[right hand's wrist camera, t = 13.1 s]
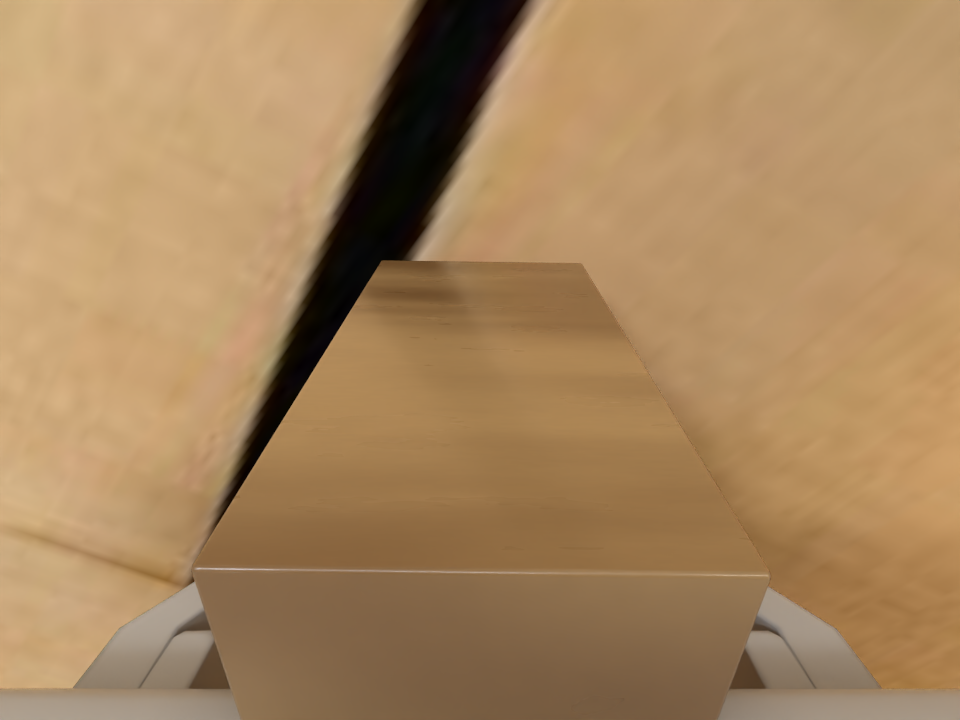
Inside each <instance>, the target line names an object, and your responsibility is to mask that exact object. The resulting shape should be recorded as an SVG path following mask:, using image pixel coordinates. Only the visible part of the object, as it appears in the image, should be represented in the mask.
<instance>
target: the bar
mask: <svg viewBox="0 0 960 720" xmlns="http://www.w3.org/2000/svg"><path fill="white" fill-rule="evenodd" d="M192 575H193V578H194V581H195V584H196V587H197V590H198V593H199V596H200V599H201V602H202V605H203V608H204V611H205V614H206V617H207V620H208V623H209V626H210V629H211V632H212V635H213V638H214V641H215V644H216V647H217V650H218V653H219V656H220V659H221V662H222V665H223V668H224V671H225V674H226V677H227V680H228V683H229V686H230V689H231V692H232V695H233V698H234V701H235V704H236V707H237V710H238V713H239V716H240V719H241V720H718V717H719V715H720V712H721V710H722V707H723V704H724V702H725V699H726V696H727V694H728V691H729V688H730V686H731V683H732V680H733V678H734V675H735V672H736V670H737V667H738V665H739V662H740V659H741V657H742V654H743V651H744V649H745V646H746V643H747V641H748V638H749V635H750V633H751V630H752V627H753V625H754V622H755V619H756V617H757V614H758V612H759V609H760V606H761V604H762V601H763V598H764V596H765V593H766V590H767V588H768V585H769V582H770V580H771V575H770V571H769V570H768V568H767V566H766V565H765V563H764V561H763V560H762V558H761V557H760V555H759V553H758V552H757V550H756V548H755V547H754V545H753V543H752V542H751V540H750V539H749V537H748V535H747V534H746V532H745V530H744V529H743V527H742V525H741V524H740V522H739V520H738V519H737V517H736V516H735V514H734V512H733V511H732V509H731V507H730V506H729V504H728V502H727V501H726V499H725V498H724V496H723V494H722V493H721V491H720V489H719V488H718V486H717V484H716V483H715V481H714V480H713V478H712V476H711V475H710V473H709V471H708V470H707V468H706V466H705V465H704V463H703V462H702V460H701V458H700V457H699V455H698V453H697V452H696V450H695V448H694V447H693V445H692V444H691V442H690V440H689V439H688V437H687V435H686V434H685V432H684V430H683V429H682V427H681V425H680V424H679V422H678V421H677V419H676V417H675V416H674V414H673V412H672V411H671V409H670V407H669V406H668V404H667V403H666V401H665V399H664V398H663V396H662V394H661V393H660V391H659V389H658V388H657V386H656V385H655V383H654V381H653V380H652V378H651V376H650V375H649V373H648V371H647V370H646V368H645V367H644V365H643V363H642V362H641V360H640V358H639V357H638V355H637V353H636V352H635V350H634V349H633V347H632V345H631V344H630V342H629V340H628V339H627V337H626V335H625V334H624V332H623V330H622V329H621V327H620V326H619V324H618V322H617V321H616V319H615V317H614V316H613V314H612V312H611V311H610V309H609V308H608V306H607V304H606V303H605V301H604V299H603V298H602V296H601V294H600V293H599V291H598V290H597V288H596V286H595V285H594V283H593V281H592V280H591V278H590V276H589V275H588V273H587V272H586V270H585V268H584V267H583V265H582V264H581V263H515V262H446V261H381V263H380V264H379V266H378V267H377V269H376V271H375V272H374V274H373V276H372V277H371V279H370V280H369V282H368V284H367V285H366V287H365V288H364V290H363V292H362V293H361V295H360V296H359V298H358V300H357V301H356V303H355V304H354V306H353V308H352V309H351V311H350V313H349V314H348V316H347V317H346V319H345V321H344V322H343V324H342V325H341V327H340V329H339V330H338V332H337V333H336V335H335V337H334V338H333V340H332V341H331V343H330V345H329V346H328V348H327V350H326V351H325V353H324V354H323V356H322V358H321V359H320V361H319V362H318V364H317V366H316V367H315V369H314V370H313V372H312V374H311V375H310V377H309V378H308V380H307V382H306V383H305V385H304V387H303V388H302V390H301V391H300V393H299V395H298V396H297V398H296V399H295V401H294V403H293V404H292V406H291V407H290V409H289V411H288V412H287V414H286V415H285V417H284V419H283V420H282V422H281V424H280V425H279V427H278V428H277V430H276V432H275V433H274V435H273V436H272V438H271V440H270V441H269V443H268V444H267V446H266V448H265V449H264V451H263V452H262V454H261V456H260V457H259V459H258V461H257V462H256V464H255V465H254V467H253V469H252V470H251V472H250V473H249V475H248V477H247V478H246V480H245V481H244V483H243V485H242V486H241V488H240V489H239V491H238V493H237V494H236V496H235V498H234V499H233V501H232V502H231V504H230V506H229V507H228V509H227V510H226V512H225V514H224V515H223V517H222V518H221V520H220V522H219V523H218V525H217V526H216V528H215V530H214V531H213V533H212V535H211V536H210V538H209V539H208V541H207V543H206V544H205V546H204V547H203V549H202V551H201V552H200V554H199V555H198V557H197V559H196V560H195V562H194V563H193V566H192Z"/></svg>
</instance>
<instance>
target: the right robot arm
mask: <svg viewBox="0 0 960 720" xmlns="http://www.w3.org/2000/svg"><path fill="white" fill-rule="evenodd" d="M0 720H241V719H240V716H239V713H238V710H237V707H236V704H235V701H234V698H233V695H232V692H231V689H230V686H229V683H228V680H227V677H226V674H225V671H224V668H223V665H222V662H221V659H220V656H219V653H218V650H217V647H216V644H215V641H214V638H213V635H212V632H211V629H210V626H209V623H208V620H207V617H206V614H205V611H204V608H203V605H202V602H201V599H200V596H199V593H198V590H197V587H196V584H195V582H193V583H192V584H190V585H189V586H187V587H185V588H184V589H182V590H181V591H179V592H177V593H176V594H174V595H172V596H171V597H169V598H168V599H166V600H164V601H163V602H161V603H160V604H158V605H156V606H155V607H153V608H151V609H150V610H148V611H147V612H145V613H143V614H142V615H140V616H138V617H137V618H135V619H134V620H132V621H130V622H129V623H127V624H126V625H124V626H122V627H121V628H119V629H118V631H117V632H116V633H115V635H114V636H113V637H112V638H111V640H110V641H109V642H108V644H107V645H106V646H105V647H104V649H103V650H102V651H101V653H100V654H99V655H98V656H97V658H96V659H95V660H94V661H93V663H92V664H91V665H90V667H89V668H88V669H87V670H86V672H85V673H84V674H83V676H82V677H81V678H80V679H79V681H78V682H77V683H76V685H75V686H74V687H73V688H72V689H0ZM718 720H960V689H882V688H881V687H880V685H879V684H878V683H877V681H876V680H875V679H874V677H873V676H872V675H871V673H870V672H869V671H868V669H867V668H866V667H865V666H864V664H863V663H862V662H861V660H860V659H859V658H858V656H857V655H856V654H855V652H854V651H853V650H852V649H851V647H850V646H849V645H848V643H847V642H846V641H845V639H844V638H843V637H842V635H841V634H840V633H839V632H838V630H837V629H836V628H834V627H832V626H831V625H829V624H828V623H826V622H824V621H823V620H821V619H820V618H818V617H816V616H815V615H813V614H812V613H810V612H808V611H807V610H805V609H804V608H802V607H800V606H799V605H797V604H796V603H794V602H792V601H791V600H789V599H788V598H786V597H784V596H783V595H781V594H780V593H778V592H776V591H775V590H773V589H772V588H770V587H768V588H767V590H766V593H765V596H764V598H763V601H762V604H761V606H760V609H759V612H758V614H757V617H756V619H755V622H754V625H753V627H752V630H751V633H750V635H749V638H748V641H747V643H746V646H745V649H744V651H743V654H742V657H741V659H740V662H739V665H738V667H737V670H736V672H735V675H734V678H733V680H732V683H731V686H730V688H729V691H728V694H727V696H726V699H725V702H724V704H723V707H722V710H721V712H720V715H719V717H718Z"/></svg>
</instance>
